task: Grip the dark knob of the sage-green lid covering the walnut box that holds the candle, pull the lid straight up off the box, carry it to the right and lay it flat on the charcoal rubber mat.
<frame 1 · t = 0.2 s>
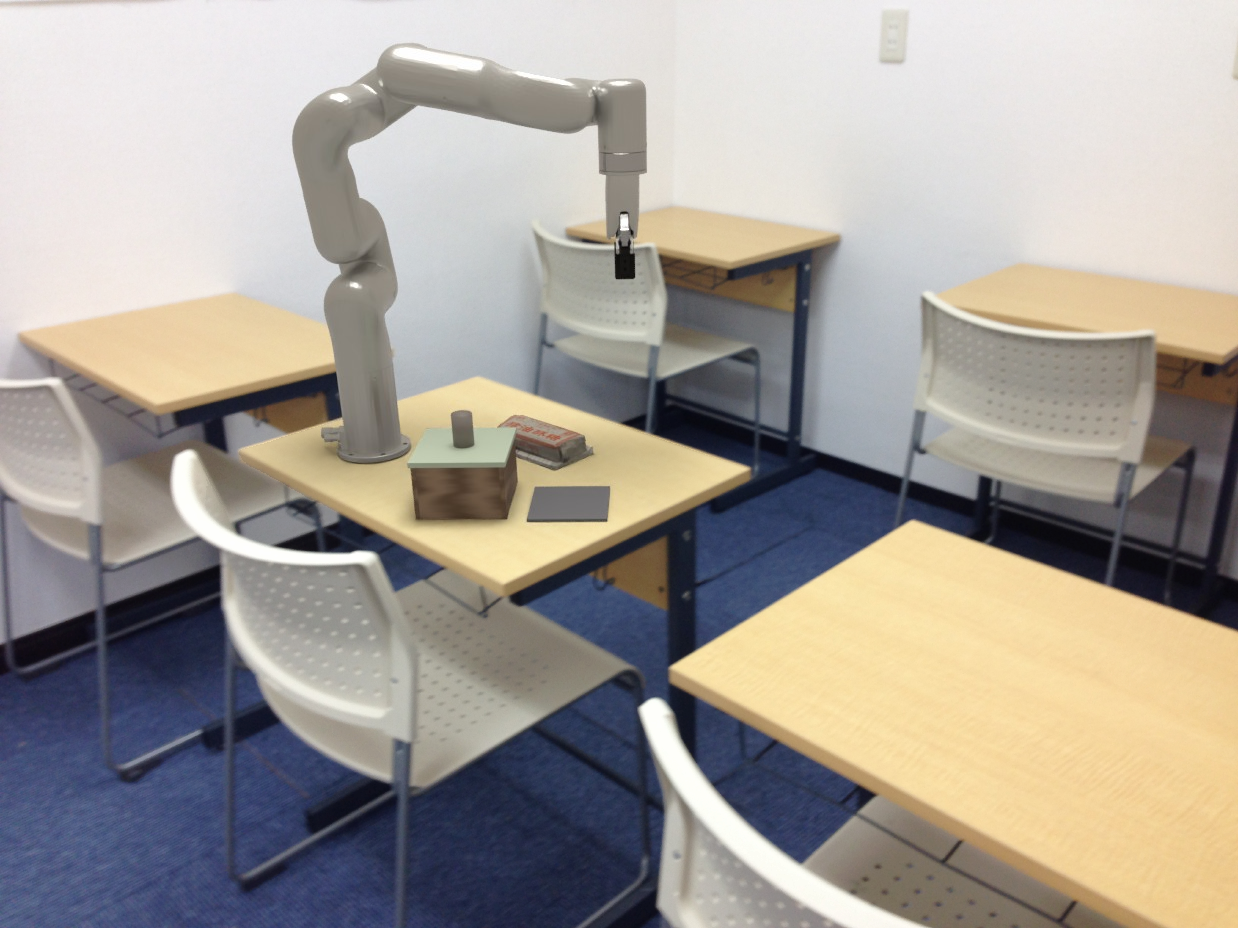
hand: (624, 272, 169), 31 cm above the table, tool pointing down, fingers open, 9 cm apart
mat: (569, 504, 160), on the table
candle: (468, 501, 163), resting in box
box: (468, 499, 163), on the table
packaged product: (539, 452, 182), on the table
lid: (464, 449, 160), point 8 cm above the table, touching box
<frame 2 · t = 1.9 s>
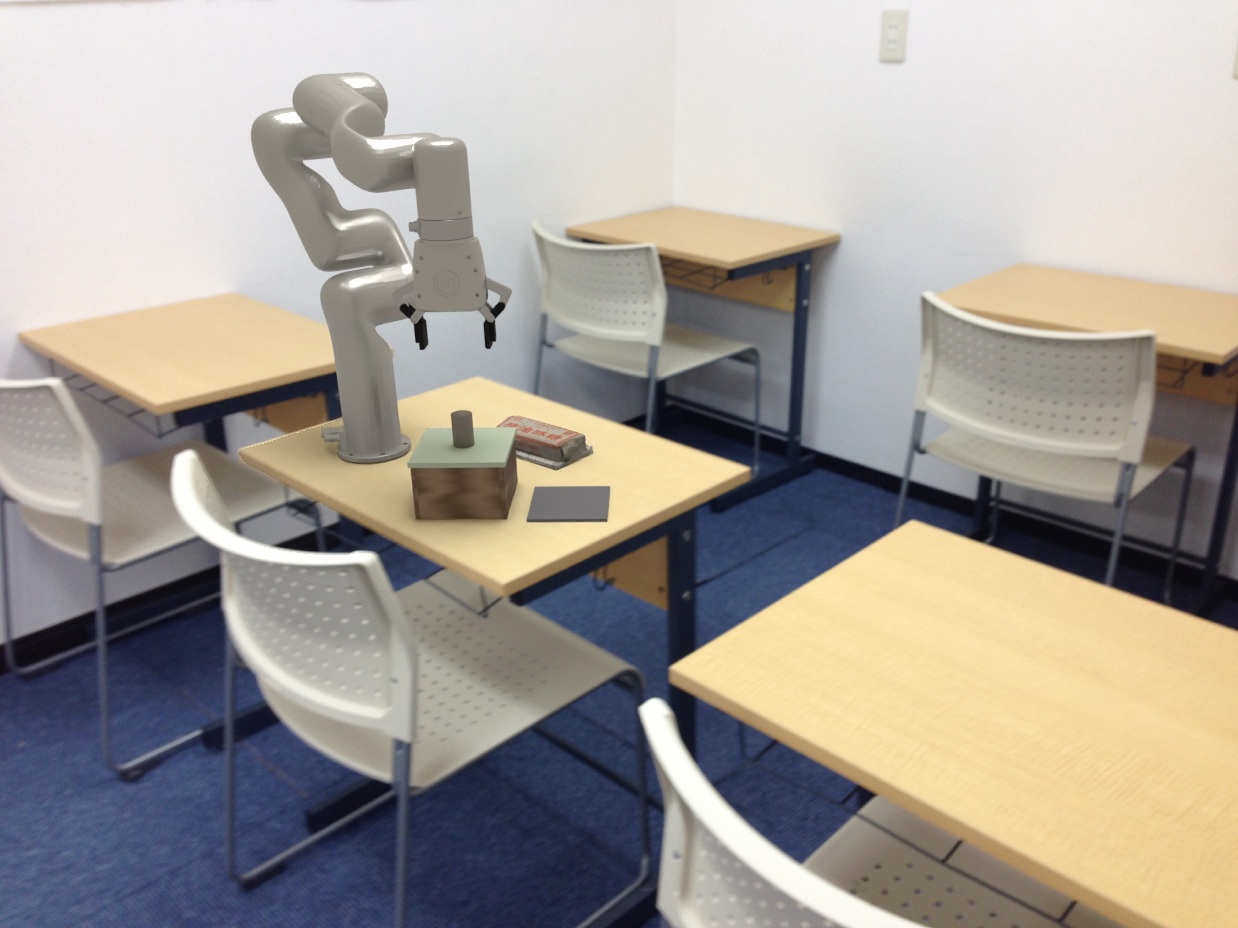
hand: (456, 347, 153), 25 cm above the table, tool pointing down, fingers open, 9 cm apart
nothing on the table moved.
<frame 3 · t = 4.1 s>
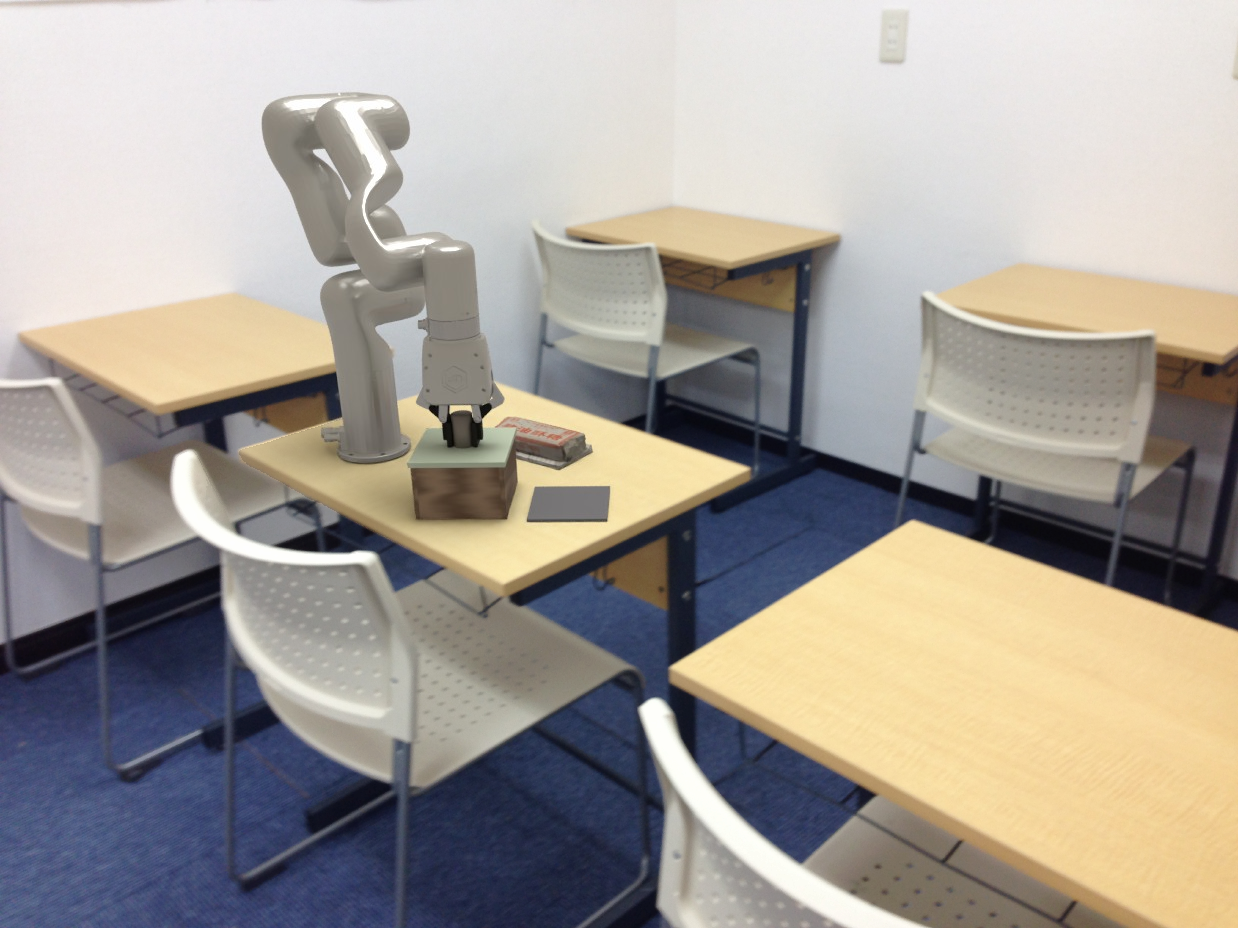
hand: (463, 443, 159), 10 cm above the table, tool pointing down, fingers closed on lid, 3 cm apart
lid: (464, 449, 160), point 8 cm above the table, touching box, gripper
everything else where it was.
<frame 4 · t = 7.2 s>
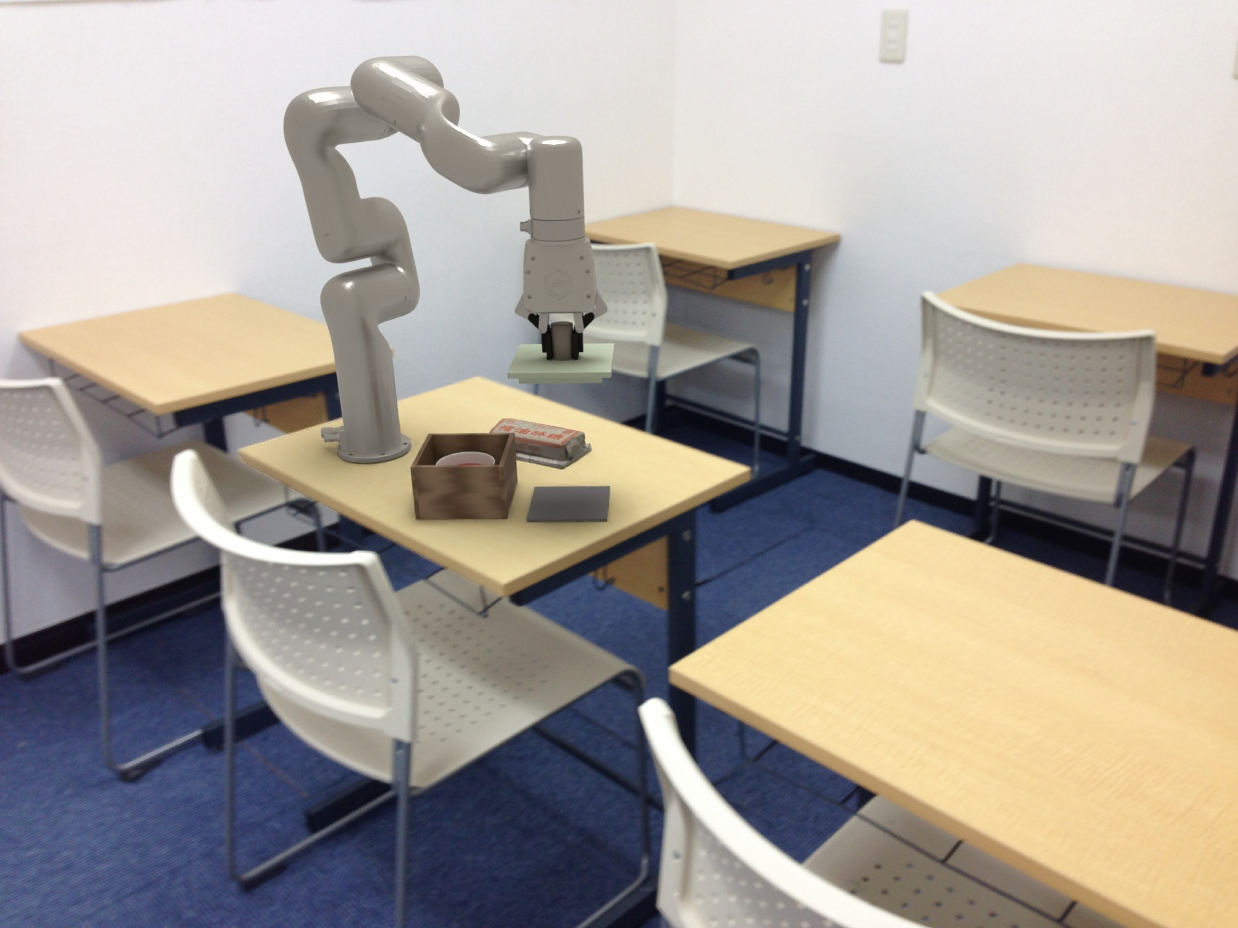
hand: (563, 356, 151), 24 cm above the table, tool pointing down, fingers closed on lid, 3 cm apart
lid: (563, 362, 152), point 23 cm above the table, touching gripper
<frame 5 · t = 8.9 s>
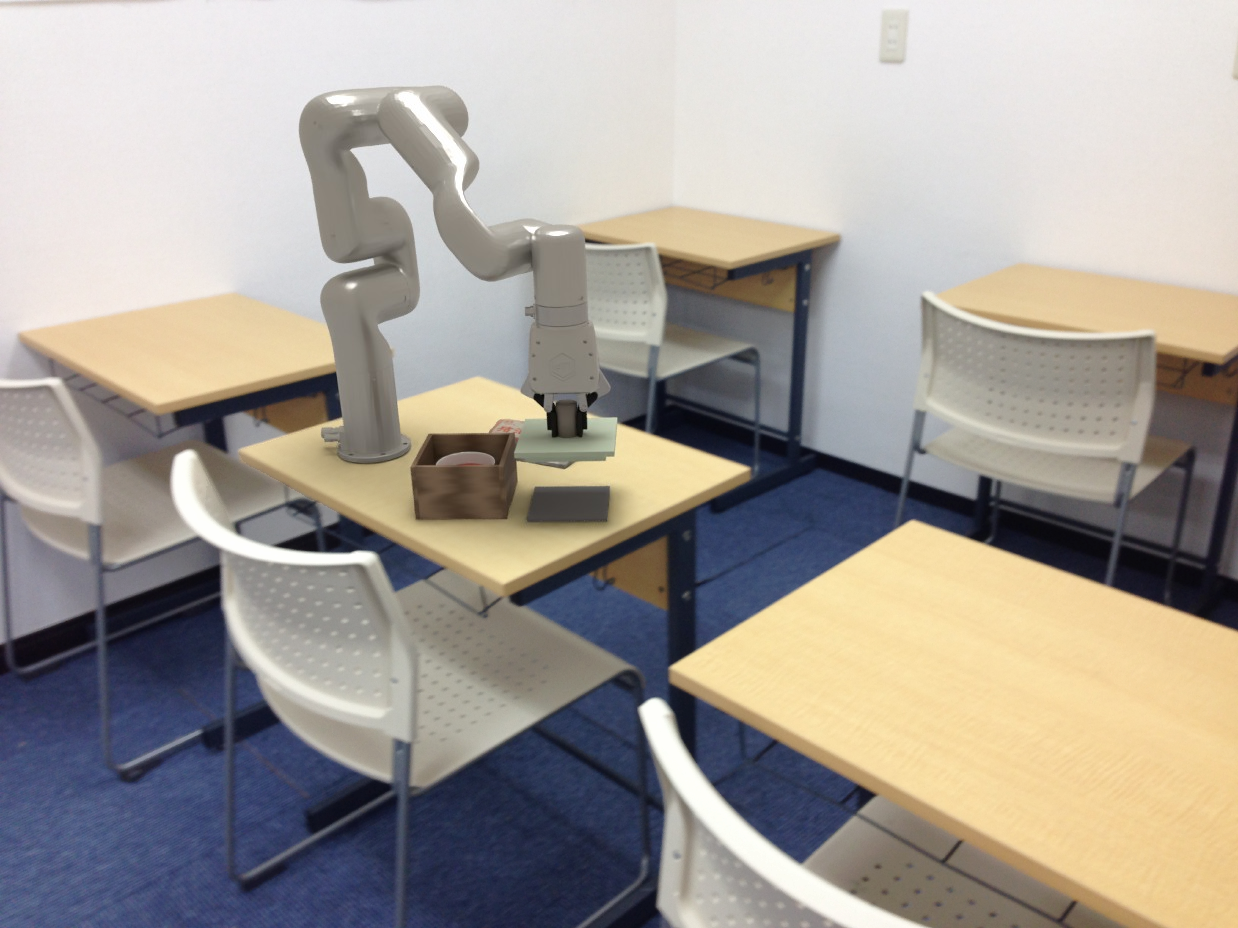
hand: (567, 433, 156), 12 cm above the table, tool pointing down, fingers closed on lid, 3 cm apart
lid: (568, 439, 156), point 11 cm above the table, touching gripper
when the fingers open (4 cm above the table, at t = 10.4 s): lid drops 1 cm, resting on mat.
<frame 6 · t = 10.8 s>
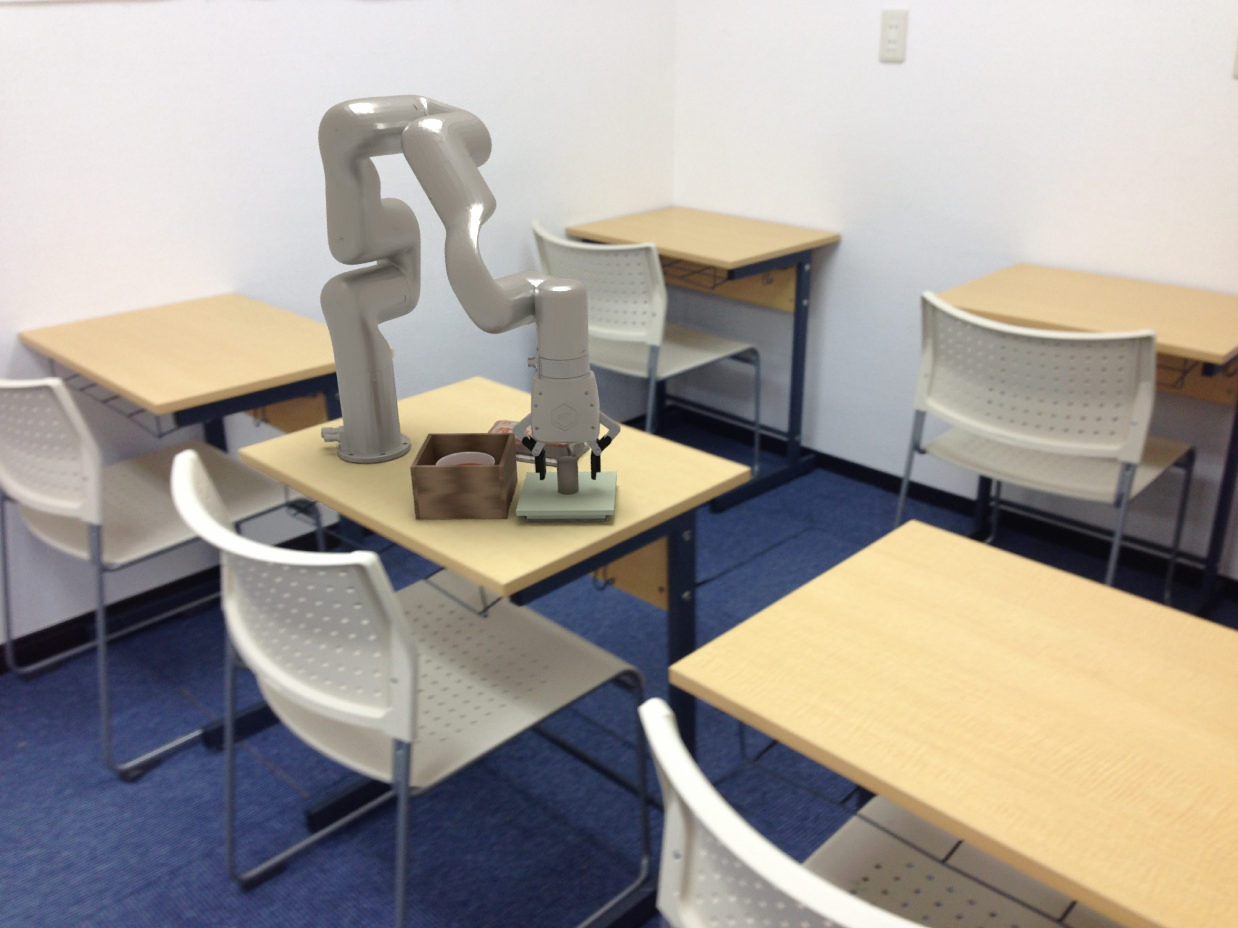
hand: (568, 475, 159), 5 cm above the table, tool pointing down, fingers open, 7 cm apart
lid: (568, 495, 160), point 2 cm above the table, touching mat
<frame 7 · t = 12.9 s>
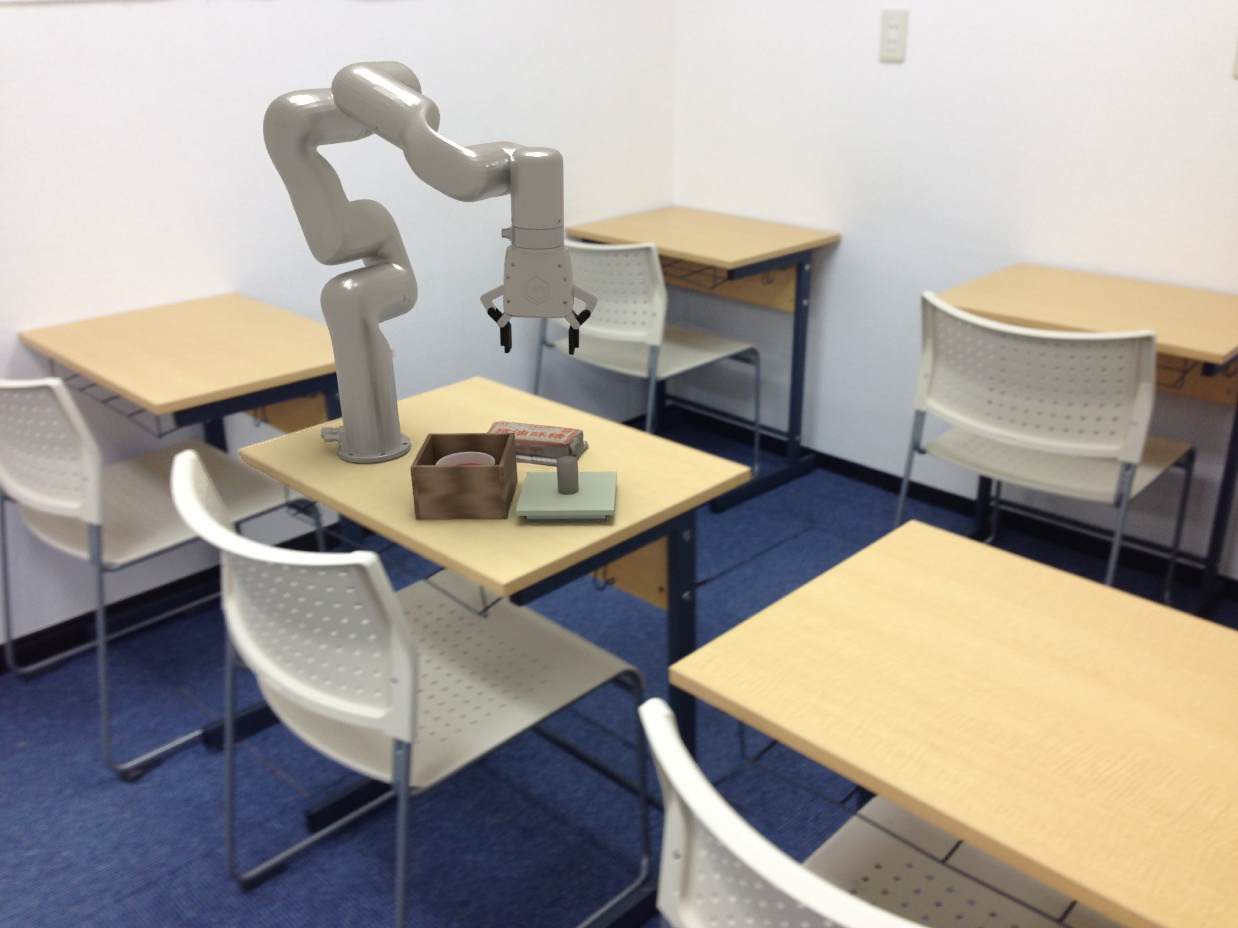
hand: (540, 351, 157), 23 cm above the table, tool pointing down, fingers open, 9 cm apart
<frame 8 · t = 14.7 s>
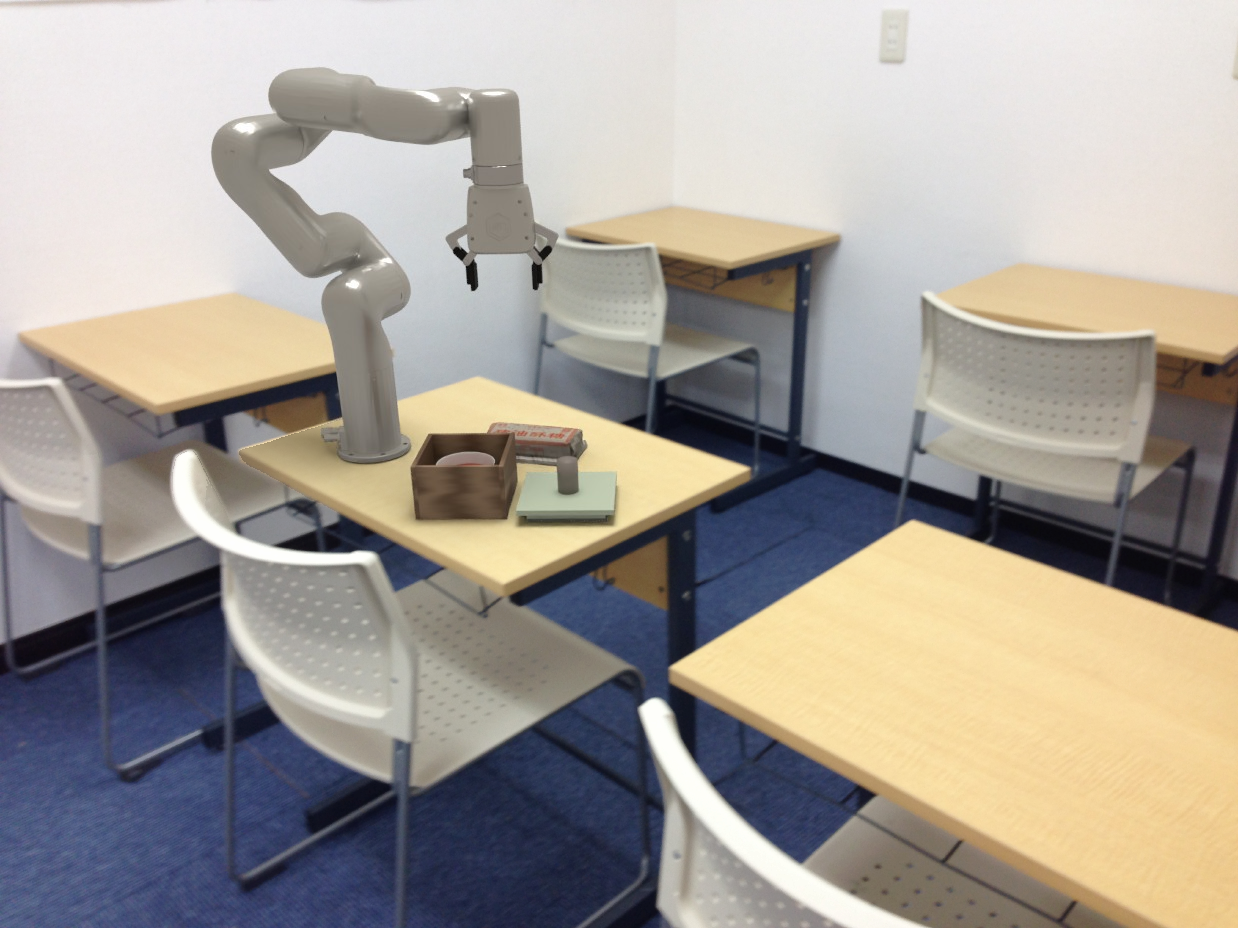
hand: (505, 288, 163), 30 cm above the table, tool pointing down, fingers open, 9 cm apart
at the end: lid inside the target area (0.1 cm from its centre), point 1.6 cm above the table; lid tilted 0° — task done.
